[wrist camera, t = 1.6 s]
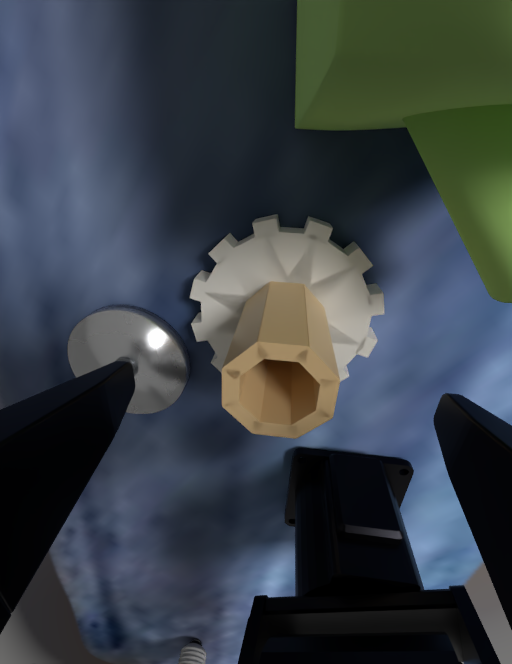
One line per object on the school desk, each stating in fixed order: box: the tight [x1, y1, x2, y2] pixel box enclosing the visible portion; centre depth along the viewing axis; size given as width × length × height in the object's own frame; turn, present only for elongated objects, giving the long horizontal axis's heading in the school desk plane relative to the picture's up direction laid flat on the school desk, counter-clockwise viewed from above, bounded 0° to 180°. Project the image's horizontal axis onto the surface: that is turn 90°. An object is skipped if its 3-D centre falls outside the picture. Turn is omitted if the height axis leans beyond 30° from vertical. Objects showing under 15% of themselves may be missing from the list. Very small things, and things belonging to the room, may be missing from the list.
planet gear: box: [190, 214, 384, 439], centre depth 12 cm, size 8×8×6 cm
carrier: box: [67, 305, 190, 414], centre depth 14 cm, size 6×6×6 cm
